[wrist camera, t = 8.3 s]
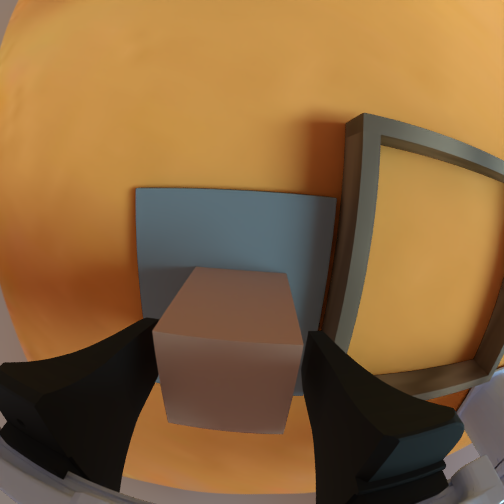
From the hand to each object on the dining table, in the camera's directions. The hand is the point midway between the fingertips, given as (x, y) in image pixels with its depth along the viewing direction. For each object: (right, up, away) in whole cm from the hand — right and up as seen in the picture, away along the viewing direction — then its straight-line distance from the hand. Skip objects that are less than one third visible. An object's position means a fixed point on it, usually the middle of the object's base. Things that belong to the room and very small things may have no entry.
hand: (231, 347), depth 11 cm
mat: (0, +1, +4) cm, 4 cm away
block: (0, +1, +3) cm, 3 cm away
